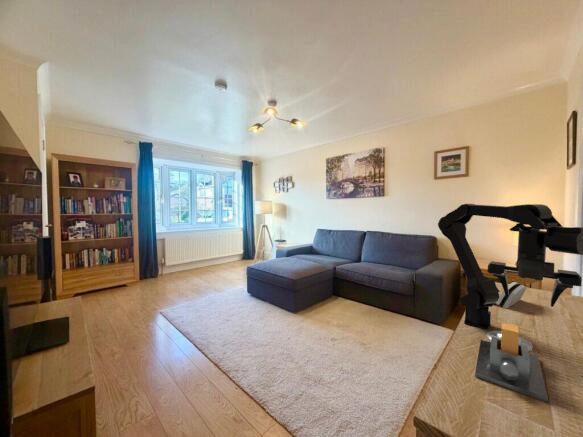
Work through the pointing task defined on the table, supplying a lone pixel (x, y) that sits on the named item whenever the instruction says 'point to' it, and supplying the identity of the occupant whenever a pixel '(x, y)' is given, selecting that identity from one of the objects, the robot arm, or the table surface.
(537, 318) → the table surface
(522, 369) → the bracket
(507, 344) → the orange rectangular prism
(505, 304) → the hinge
